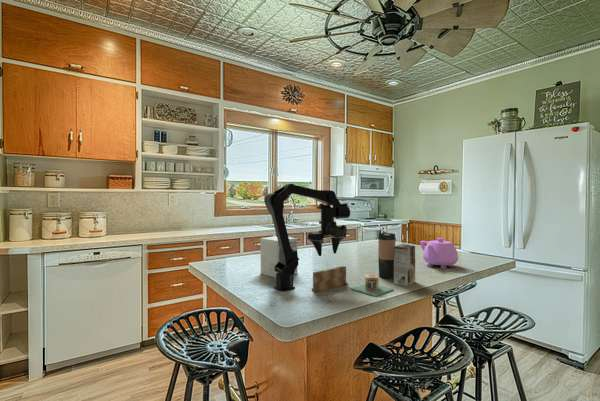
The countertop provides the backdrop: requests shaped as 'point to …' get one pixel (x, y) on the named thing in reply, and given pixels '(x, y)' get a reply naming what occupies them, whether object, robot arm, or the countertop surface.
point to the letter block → (372, 282)
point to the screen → (329, 278)
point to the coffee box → (404, 264)
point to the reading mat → (371, 292)
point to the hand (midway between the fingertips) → (327, 254)
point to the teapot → (439, 253)
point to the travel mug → (386, 255)
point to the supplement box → (272, 254)
